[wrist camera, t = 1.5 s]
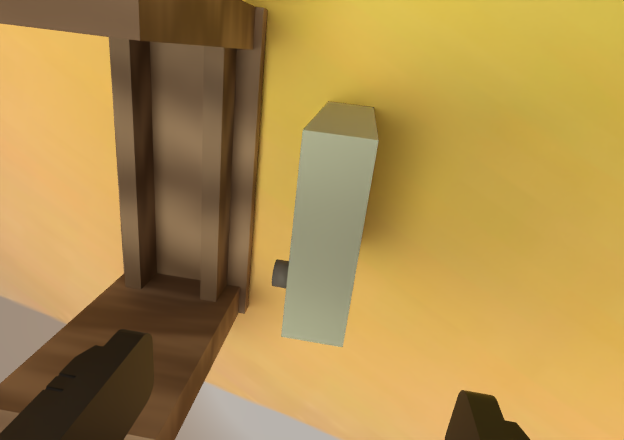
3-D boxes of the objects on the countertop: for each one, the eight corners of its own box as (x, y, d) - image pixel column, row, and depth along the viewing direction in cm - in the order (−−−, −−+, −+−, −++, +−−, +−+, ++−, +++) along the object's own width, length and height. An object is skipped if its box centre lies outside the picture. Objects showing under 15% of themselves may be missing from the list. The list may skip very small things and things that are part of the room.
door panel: (313, 99, 28) (277, 126, 16) (373, 107, 27) (378, 140, 16) (298, 235, 31) (261, 333, 20) (351, 243, 31) (342, 347, 20)
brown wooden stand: (114, -8, 27) (-161, -82, 13) (267, 9, 26) (152, -48, 12) (131, 287, 35) (-24, 438, 21) (247, 306, 34) (166, 477, 20)
